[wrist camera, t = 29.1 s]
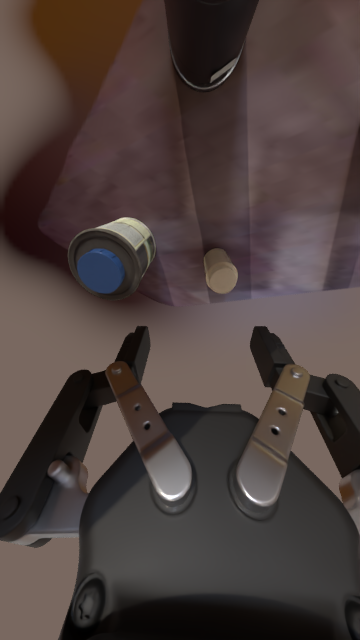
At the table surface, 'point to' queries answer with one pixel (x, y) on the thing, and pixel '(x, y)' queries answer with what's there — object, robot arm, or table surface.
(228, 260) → the jar
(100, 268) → the lid
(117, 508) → the robot arm
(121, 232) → the coffee can
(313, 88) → the table surface
